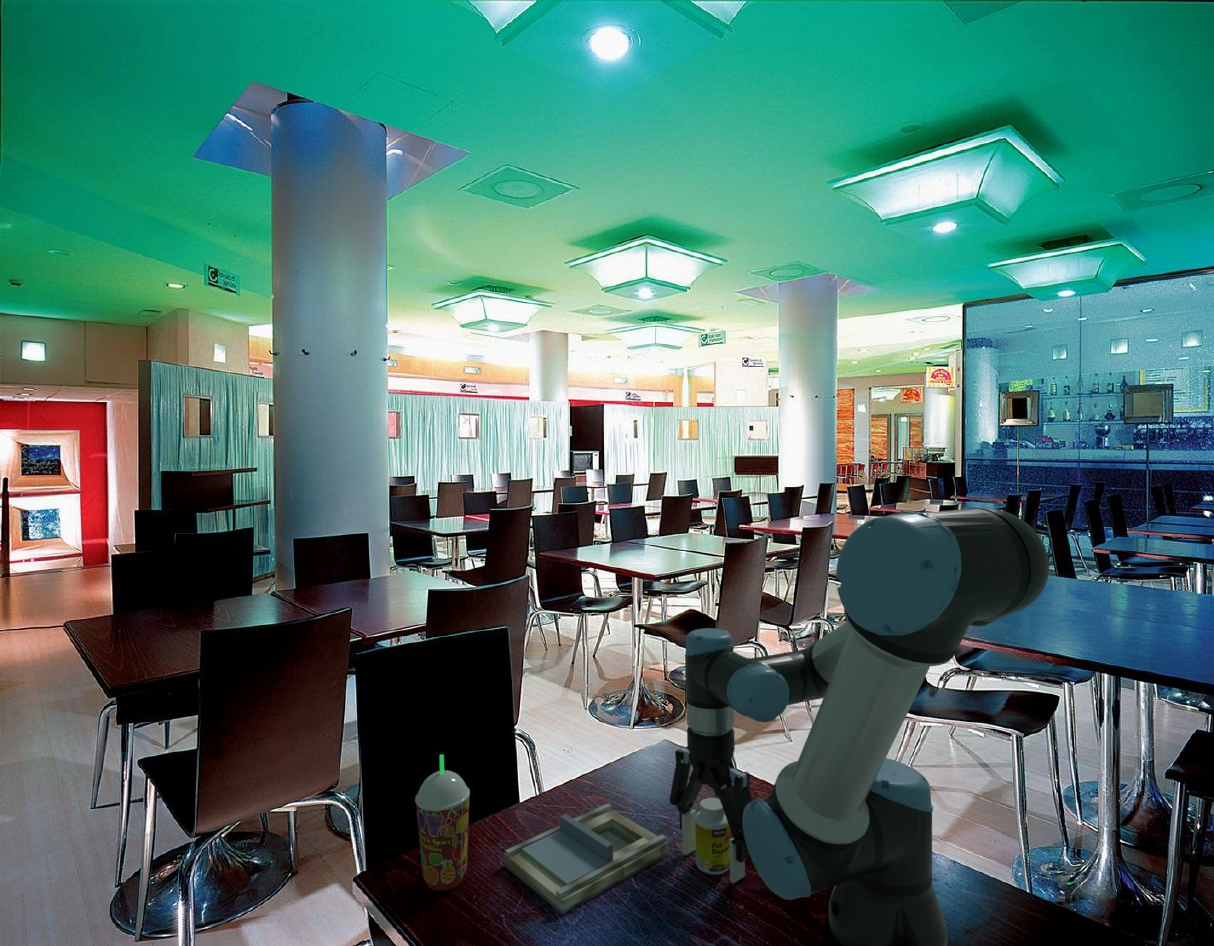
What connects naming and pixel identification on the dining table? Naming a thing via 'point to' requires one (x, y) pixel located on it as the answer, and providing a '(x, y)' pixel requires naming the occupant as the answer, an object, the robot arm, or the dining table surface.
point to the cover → (570, 851)
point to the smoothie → (443, 828)
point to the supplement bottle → (712, 837)
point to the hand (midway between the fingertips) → (712, 864)
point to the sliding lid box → (629, 857)
